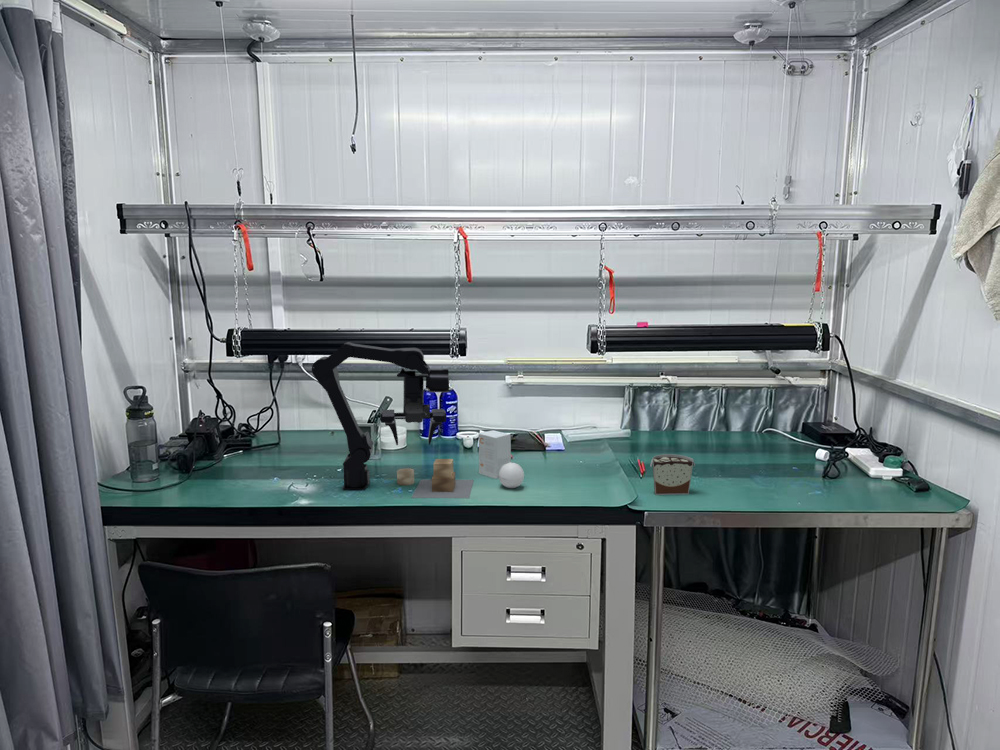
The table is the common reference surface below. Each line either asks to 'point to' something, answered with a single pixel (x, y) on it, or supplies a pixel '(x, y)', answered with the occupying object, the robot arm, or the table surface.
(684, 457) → the food container
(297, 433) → the table surface
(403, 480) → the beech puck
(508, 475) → the white sphere
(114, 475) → the table surface
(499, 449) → the small box
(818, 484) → the table surface
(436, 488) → the tower base
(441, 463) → the tower top
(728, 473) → the table surface
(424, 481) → the coaster
